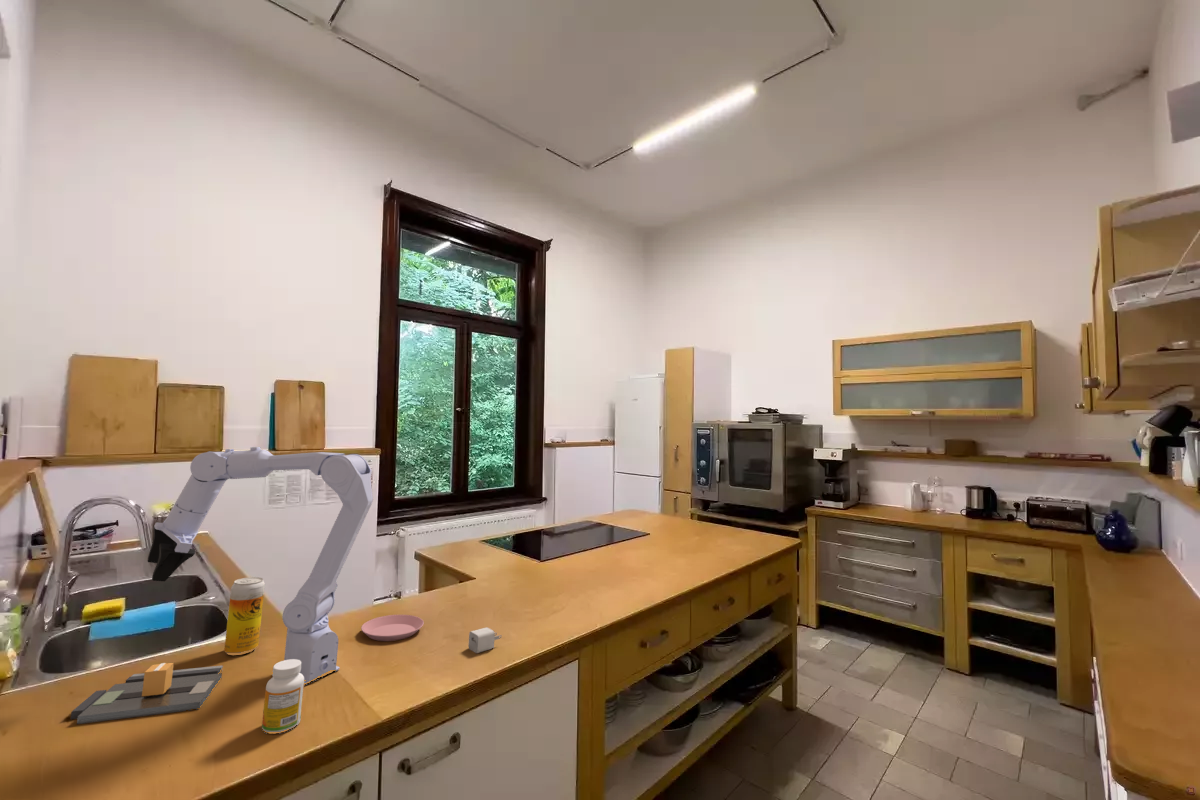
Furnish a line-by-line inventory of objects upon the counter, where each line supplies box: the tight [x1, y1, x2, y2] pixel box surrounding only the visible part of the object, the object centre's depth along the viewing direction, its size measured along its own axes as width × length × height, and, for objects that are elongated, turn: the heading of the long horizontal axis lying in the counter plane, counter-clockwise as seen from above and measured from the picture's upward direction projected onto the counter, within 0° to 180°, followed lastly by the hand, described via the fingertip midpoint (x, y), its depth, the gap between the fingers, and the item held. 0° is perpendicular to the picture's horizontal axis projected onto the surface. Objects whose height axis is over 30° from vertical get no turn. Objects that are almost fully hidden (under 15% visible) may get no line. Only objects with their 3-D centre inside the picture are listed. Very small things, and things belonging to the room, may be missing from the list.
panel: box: [76, 672, 223, 725], centre depth 87 cm, size 16×11×1 cm
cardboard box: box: [142, 662, 175, 696], centre depth 87 cm, size 3×3×4 cm
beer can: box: [223, 576, 266, 654], centre depth 108 cm, size 6×6×15 cm
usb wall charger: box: [467, 627, 503, 654], centre depth 116 cm, size 4×7×4 cm, turn 135°
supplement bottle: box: [261, 659, 305, 732], centre depth 81 cm, size 5×5×10 cm
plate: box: [360, 614, 425, 642], centre depth 122 cm, size 14×14×2 cm
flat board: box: [70, 665, 224, 720], centre depth 89 cm, size 17×13×1 cm
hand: (156, 570), depth 98 cm, fingers open, 7 cm apart
